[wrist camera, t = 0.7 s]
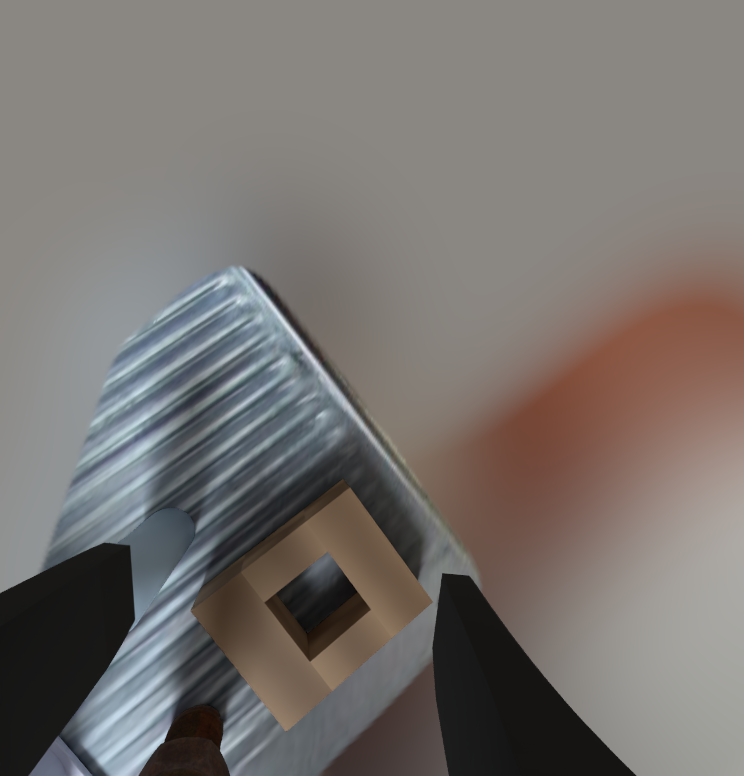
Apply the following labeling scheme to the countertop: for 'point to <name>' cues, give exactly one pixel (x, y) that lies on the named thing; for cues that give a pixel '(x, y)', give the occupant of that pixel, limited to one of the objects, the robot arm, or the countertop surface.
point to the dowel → (156, 553)
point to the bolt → (190, 746)
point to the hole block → (278, 626)
